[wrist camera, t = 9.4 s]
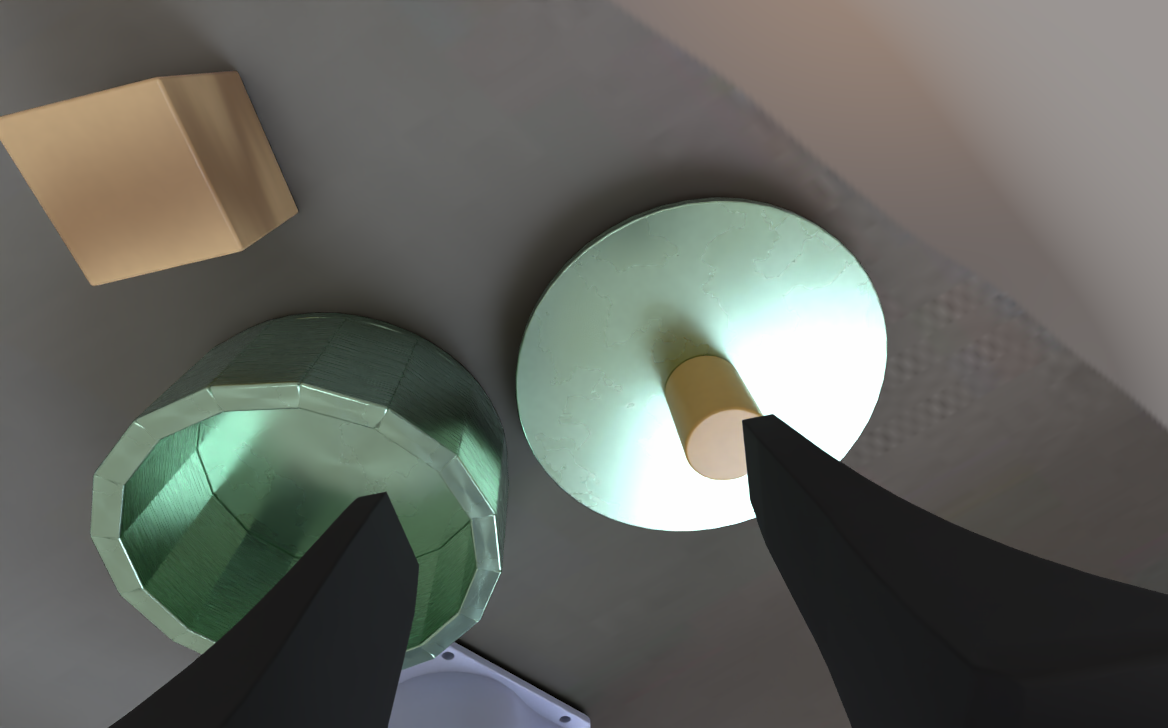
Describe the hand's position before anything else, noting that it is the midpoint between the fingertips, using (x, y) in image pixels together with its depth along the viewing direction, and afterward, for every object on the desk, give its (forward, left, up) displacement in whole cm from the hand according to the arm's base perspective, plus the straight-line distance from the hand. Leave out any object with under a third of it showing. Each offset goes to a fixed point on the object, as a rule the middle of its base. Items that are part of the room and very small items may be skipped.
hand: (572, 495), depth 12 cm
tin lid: (-5, -2, -9) cm, 10 cm away
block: (+11, +3, -9) cm, 15 cm away
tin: (+2, +9, -9) cm, 13 cm away
